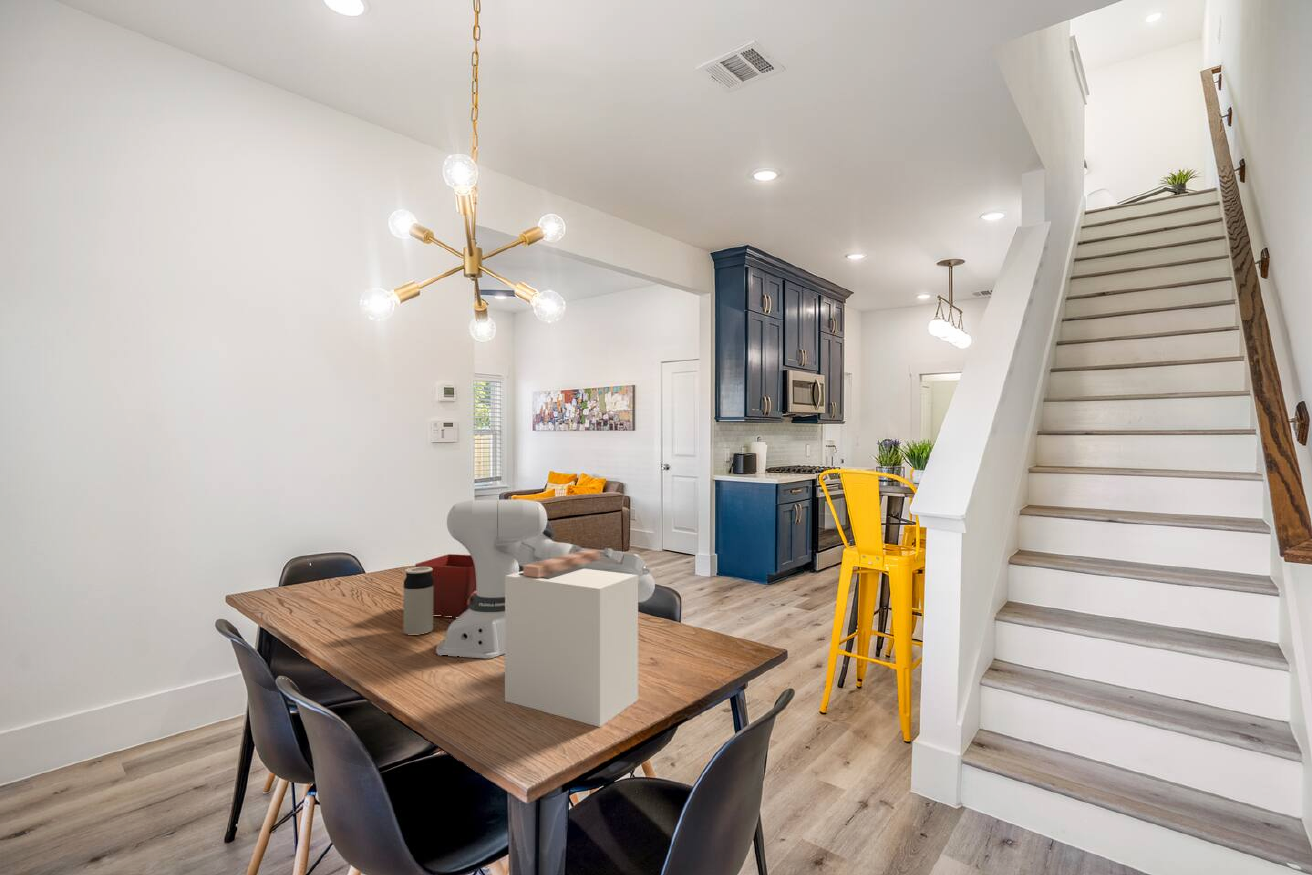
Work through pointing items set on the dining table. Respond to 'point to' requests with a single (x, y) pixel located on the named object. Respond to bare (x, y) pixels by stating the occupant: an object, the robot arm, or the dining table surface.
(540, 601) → the tall white box
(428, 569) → the travel mug
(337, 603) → the dining table surface
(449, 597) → the plant pot
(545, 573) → the terracotta slat
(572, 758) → the dining table surface
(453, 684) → the dining table surface
